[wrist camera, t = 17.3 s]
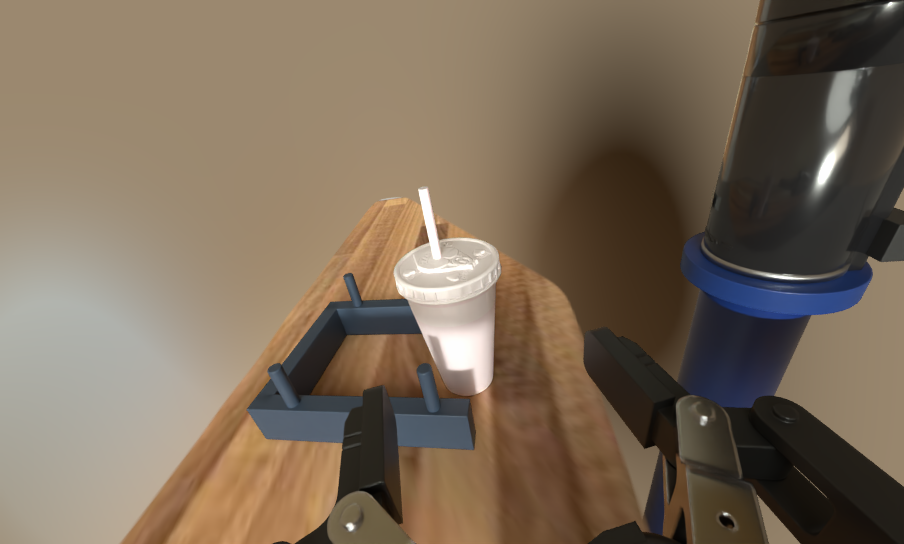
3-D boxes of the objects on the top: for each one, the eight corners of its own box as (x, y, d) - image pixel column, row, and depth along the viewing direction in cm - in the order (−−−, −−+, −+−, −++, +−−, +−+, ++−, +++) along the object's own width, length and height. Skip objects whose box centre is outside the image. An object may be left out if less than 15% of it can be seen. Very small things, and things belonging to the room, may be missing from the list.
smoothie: (453, 336, 29) (418, 171, 22) (525, 357, 25) (512, 169, 18) (407, 393, 24) (345, 208, 17) (488, 427, 21) (452, 214, 14)
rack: (486, 323, 30) (478, 263, 27) (473, 450, 20) (459, 377, 17) (340, 327, 32) (319, 273, 29) (266, 439, 23) (223, 375, 20)
